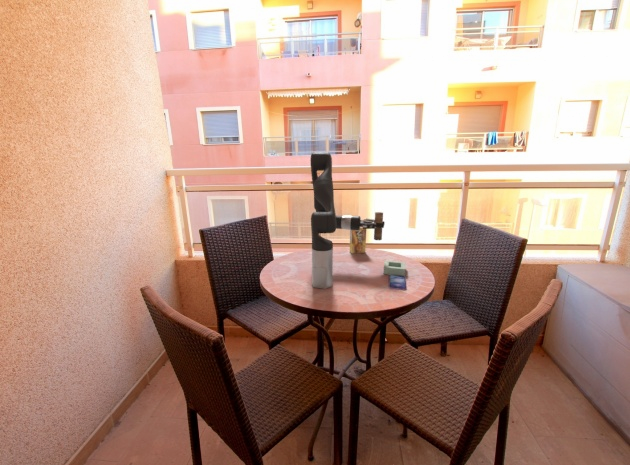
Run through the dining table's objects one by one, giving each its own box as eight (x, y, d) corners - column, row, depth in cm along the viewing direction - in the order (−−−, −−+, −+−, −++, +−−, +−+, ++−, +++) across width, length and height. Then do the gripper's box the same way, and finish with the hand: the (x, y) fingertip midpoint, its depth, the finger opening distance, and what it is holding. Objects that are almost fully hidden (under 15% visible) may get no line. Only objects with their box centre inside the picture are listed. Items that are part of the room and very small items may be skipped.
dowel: (381, 240, 150) (382, 213, 146) (373, 239, 151) (374, 213, 147) (381, 238, 154) (383, 212, 150) (374, 237, 155) (375, 211, 151)
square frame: (404, 276, 140) (405, 269, 140) (383, 273, 143) (383, 267, 142) (404, 268, 150) (405, 262, 149) (384, 266, 152) (384, 260, 152)
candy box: (363, 250, 179) (363, 226, 175) (365, 252, 175) (366, 227, 171) (349, 251, 177) (349, 227, 173) (351, 253, 173) (352, 228, 169)
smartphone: (405, 275, 140) (406, 289, 126) (405, 277, 140) (406, 291, 126) (389, 274, 141) (389, 287, 127) (389, 275, 142) (389, 289, 128)
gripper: (348, 218, 147) (383, 220, 142) (353, 213, 160) (385, 214, 155) (348, 233, 148) (383, 235, 144) (352, 226, 162) (384, 228, 157)
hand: (384, 224), depth 150 cm, fingers closed on dowel, 4 cm apart
